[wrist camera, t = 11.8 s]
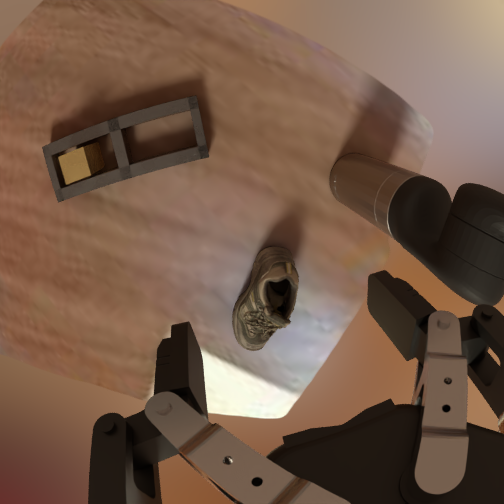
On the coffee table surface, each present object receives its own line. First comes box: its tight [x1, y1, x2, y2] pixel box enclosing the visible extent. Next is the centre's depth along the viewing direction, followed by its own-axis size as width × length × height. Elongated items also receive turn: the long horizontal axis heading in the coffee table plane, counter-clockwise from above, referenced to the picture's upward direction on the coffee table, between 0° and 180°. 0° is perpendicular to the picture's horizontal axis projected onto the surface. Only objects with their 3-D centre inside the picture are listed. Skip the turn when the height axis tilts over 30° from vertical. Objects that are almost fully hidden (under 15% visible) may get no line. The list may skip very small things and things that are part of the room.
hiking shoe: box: [232, 247, 299, 351], centre depth 52 cm, size 9×21×12 cm, turn 166°
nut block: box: [58, 142, 105, 185], centre depth 37 cm, size 4×4×7 cm
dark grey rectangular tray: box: [42, 96, 209, 202], centre depth 39 cm, size 24×9×3 cm, turn 100°
